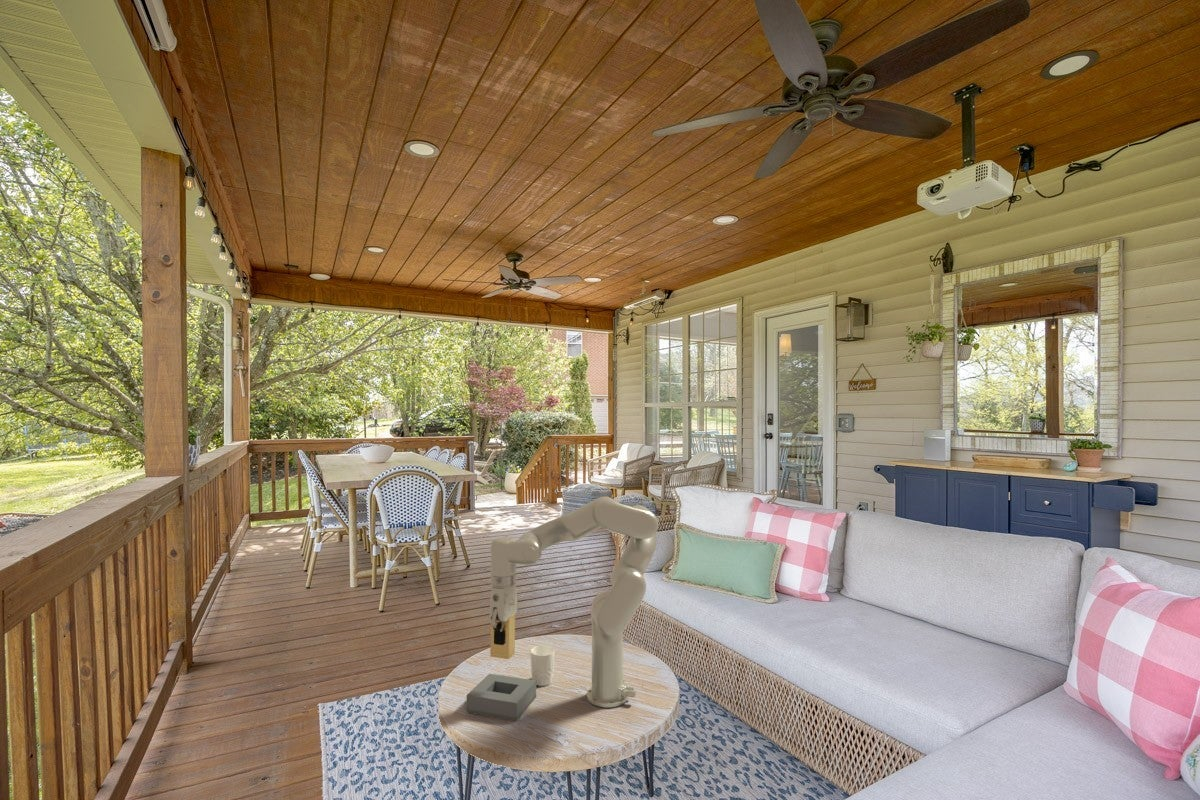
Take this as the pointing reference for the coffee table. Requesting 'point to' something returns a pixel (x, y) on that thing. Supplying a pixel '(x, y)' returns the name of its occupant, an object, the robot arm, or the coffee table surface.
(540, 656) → the white cup
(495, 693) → the well block
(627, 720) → the coffee table surface
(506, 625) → the tall yellow pillar
